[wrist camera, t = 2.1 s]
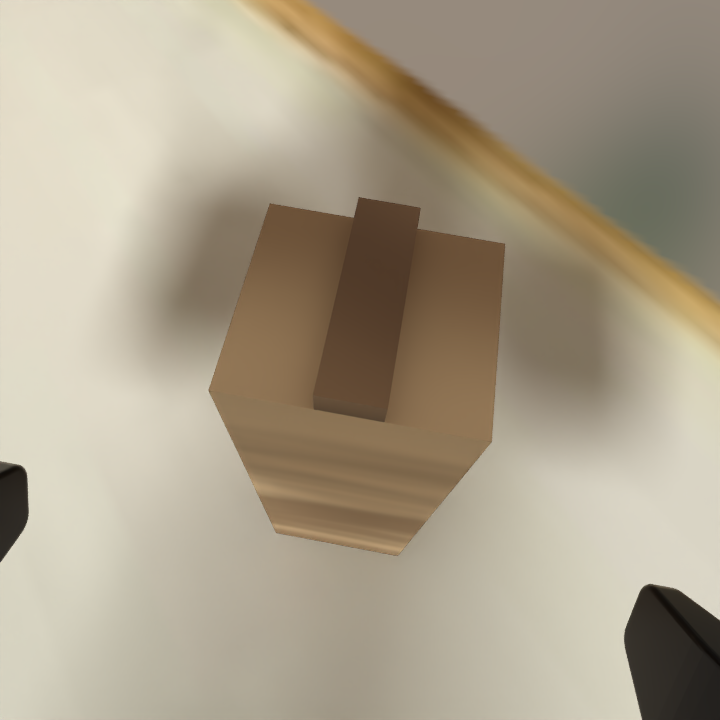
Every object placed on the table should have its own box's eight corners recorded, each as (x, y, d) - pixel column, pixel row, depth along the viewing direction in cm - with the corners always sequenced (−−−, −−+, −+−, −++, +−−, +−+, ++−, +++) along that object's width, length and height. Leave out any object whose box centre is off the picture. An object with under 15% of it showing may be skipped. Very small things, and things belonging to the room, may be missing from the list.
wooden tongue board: (397, 556, 18) (501, 429, 7) (275, 532, 18) (201, 375, 7) (411, 452, 19) (514, 223, 9) (300, 432, 20) (267, 181, 9)
